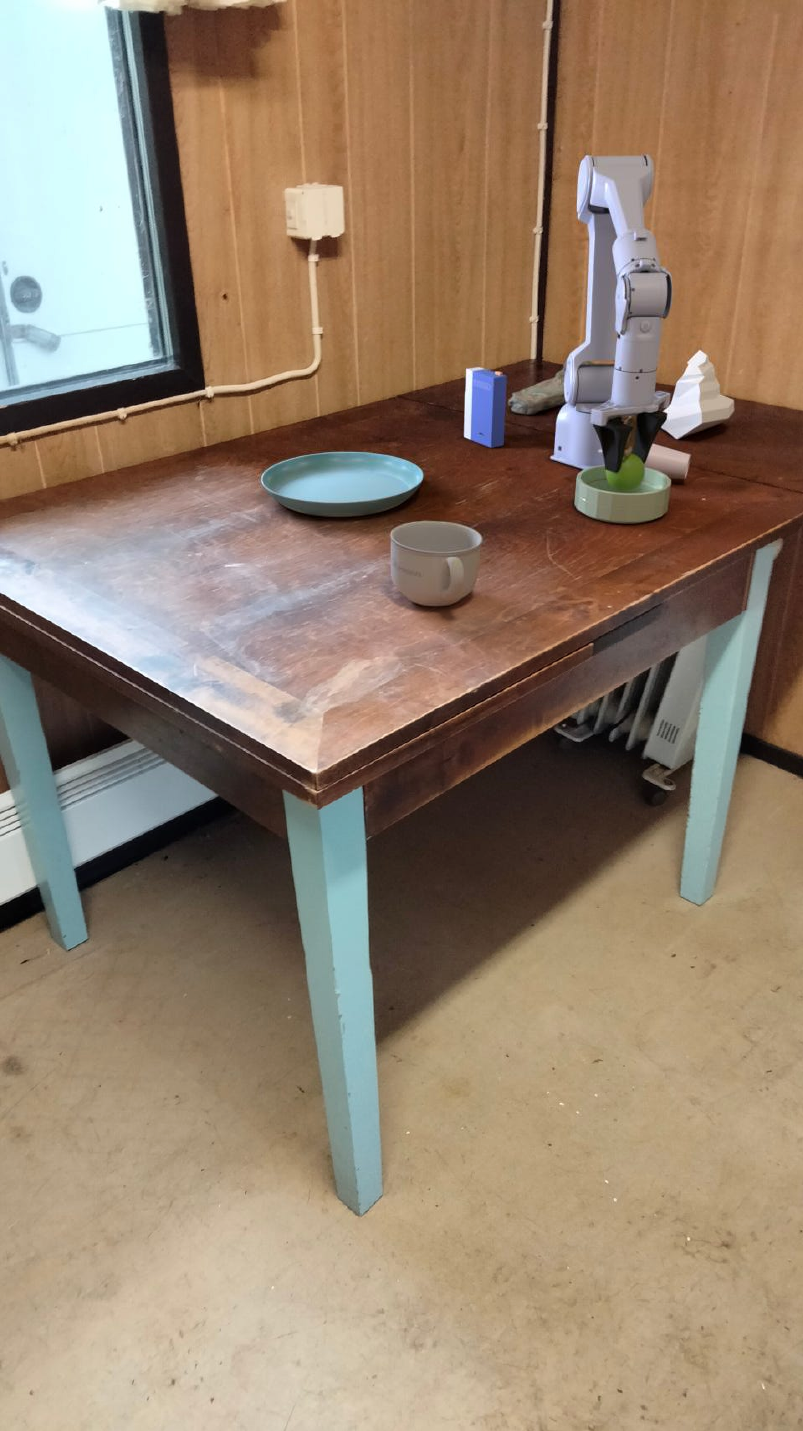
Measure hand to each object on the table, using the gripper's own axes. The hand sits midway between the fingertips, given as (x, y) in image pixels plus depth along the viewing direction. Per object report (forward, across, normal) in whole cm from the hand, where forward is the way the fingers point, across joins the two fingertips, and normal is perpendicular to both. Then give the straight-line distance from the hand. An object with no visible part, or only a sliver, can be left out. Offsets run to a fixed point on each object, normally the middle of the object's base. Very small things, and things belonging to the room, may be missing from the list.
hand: (625, 466), depth 147 cm
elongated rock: (+6, +41, +48) cm, 63 cm away
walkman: (+6, +8, +37) cm, 38 cm away
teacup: (+6, -41, -6) cm, 42 cm away
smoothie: (+4, +16, 0) cm, 17 cm away
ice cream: (+6, +40, +17) cm, 44 cm away
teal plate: (+6, -27, +31) cm, 42 cm away
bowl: (+6, 0, 0) cm, 6 cm away
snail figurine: (+4, 0, 0) cm, 4 cm away
